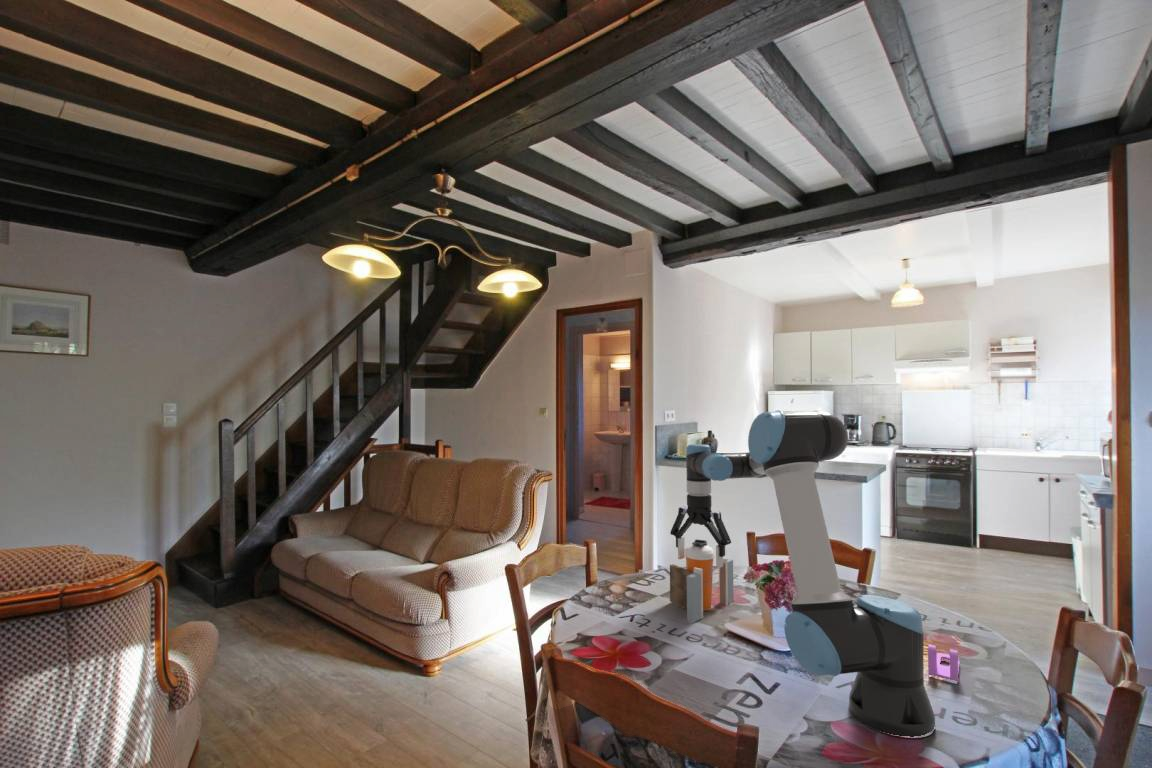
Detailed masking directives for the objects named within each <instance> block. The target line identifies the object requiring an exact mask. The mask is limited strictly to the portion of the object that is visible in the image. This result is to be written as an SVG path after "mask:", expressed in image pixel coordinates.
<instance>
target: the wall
mask: <svg viewBox="0 0 1152 768" xmlns="http://www.w3.org/2000/svg"><path fill="white" fill-rule="evenodd" d="M732 602H734V559H731V558H726V557H723V566H722V567H720V568H718V603H719V604H721V605H725V606H728V605H729V604H730V603H732ZM703 619H704V611H703V569H700V568H696V567H695V568H694V573H693V574H691V575H688V576H687V609H686V621H687V622H688V623H691V624H694V623H696V622H697V621H699V620H703Z"/></svg>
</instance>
